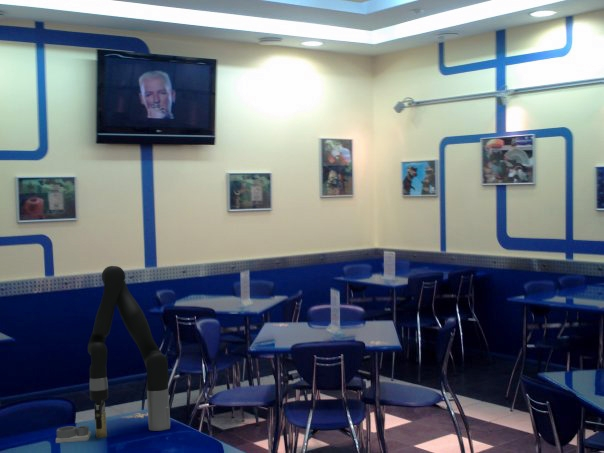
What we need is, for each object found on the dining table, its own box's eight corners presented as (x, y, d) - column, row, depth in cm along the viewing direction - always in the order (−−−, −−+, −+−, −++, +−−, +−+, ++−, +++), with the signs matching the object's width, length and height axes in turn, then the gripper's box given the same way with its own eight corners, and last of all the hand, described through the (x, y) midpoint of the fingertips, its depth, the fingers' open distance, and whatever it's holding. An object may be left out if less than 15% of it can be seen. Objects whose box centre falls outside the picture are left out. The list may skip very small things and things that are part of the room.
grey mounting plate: (90, 434, 332) (90, 424, 332) (88, 440, 323) (87, 429, 323) (59, 437, 330) (58, 426, 330) (55, 443, 321) (55, 432, 321)
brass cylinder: (107, 434, 330) (106, 411, 330) (106, 437, 326) (105, 413, 326) (96, 435, 330) (95, 412, 330) (95, 438, 325) (94, 414, 325)
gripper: (105, 390, 321) (107, 429, 321) (109, 384, 335) (111, 421, 335) (87, 392, 320) (89, 431, 320) (91, 385, 334) (93, 422, 334)
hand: (100, 426), depth 328 cm, fingers open, 8 cm apart
